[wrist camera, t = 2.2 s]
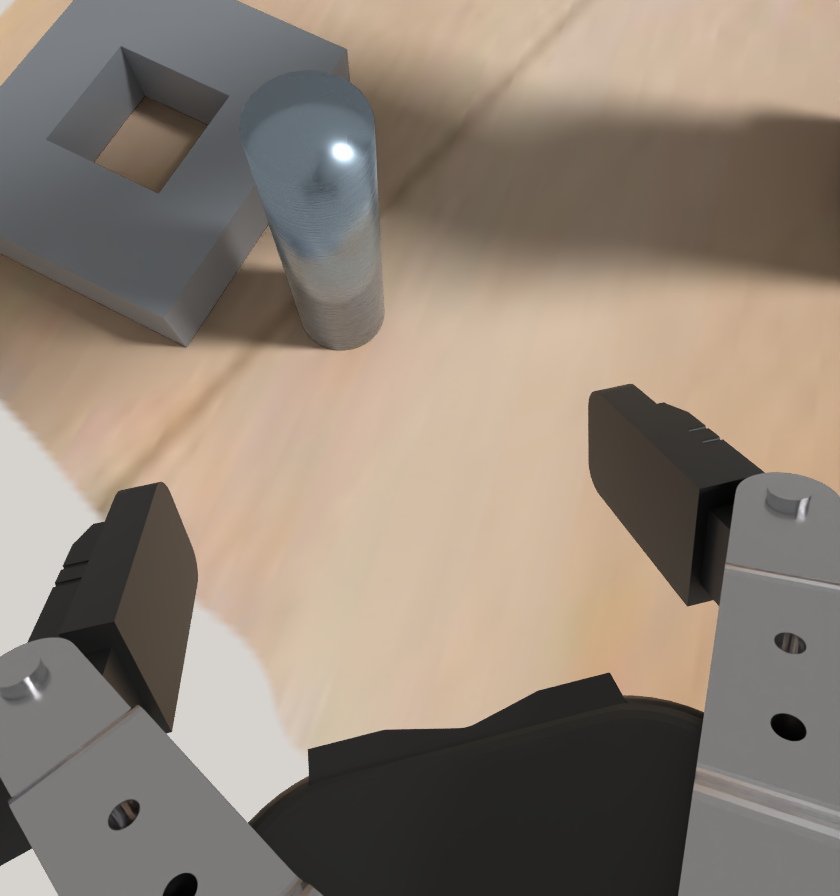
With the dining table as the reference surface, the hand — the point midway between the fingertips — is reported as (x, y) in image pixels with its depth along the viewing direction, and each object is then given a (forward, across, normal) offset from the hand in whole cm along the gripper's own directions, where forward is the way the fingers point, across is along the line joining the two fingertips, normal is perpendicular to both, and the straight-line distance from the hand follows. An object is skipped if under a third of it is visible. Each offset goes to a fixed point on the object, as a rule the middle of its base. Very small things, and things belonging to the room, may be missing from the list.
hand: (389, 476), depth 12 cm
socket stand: (+27, +7, -4) cm, 28 cm away
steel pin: (+20, 0, +3) cm, 20 cm away
